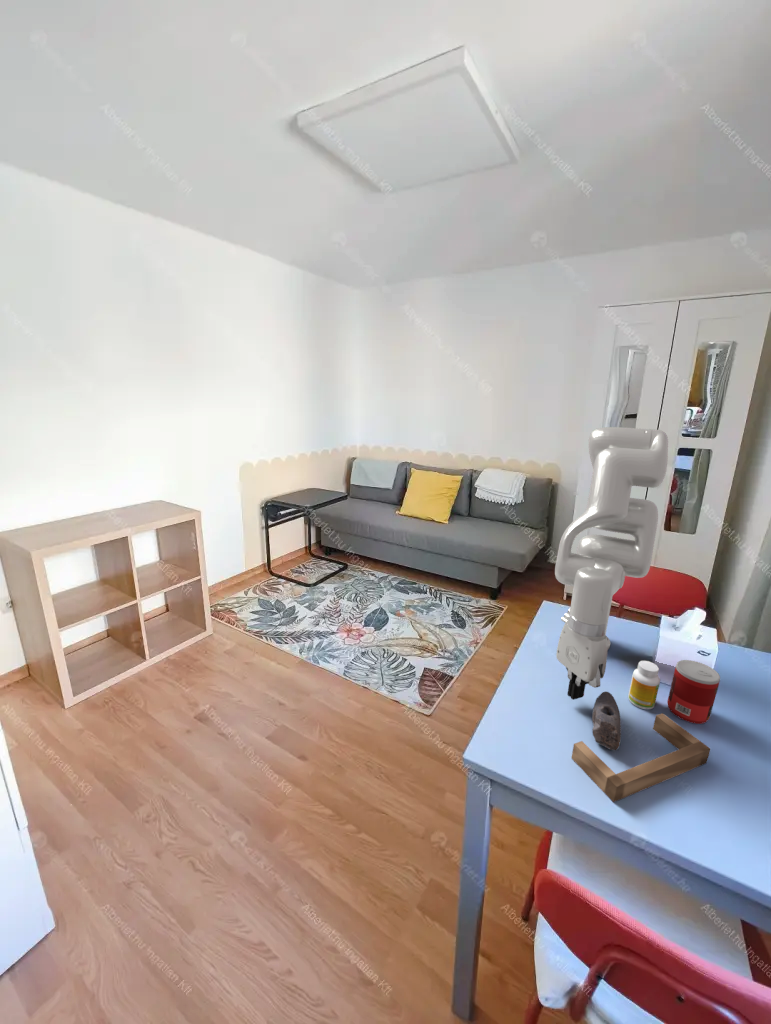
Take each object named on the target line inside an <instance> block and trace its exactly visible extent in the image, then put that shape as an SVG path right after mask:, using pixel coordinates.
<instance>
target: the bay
mask: <svg viewBox="0 0 771 1024" xmlns="http://www.w3.org/2000/svg"><path fill="white" fill-rule="evenodd" d="M652 730H653V731H655V732H656V733H657V734H659V736H661V737H662V738H664V740H666V741H667V742H668V743H670V744H671V745H672V746H674V747H675V749H676V750H674V751H671V752H669V753H666V754H664V755H660V756H659V757H656V758H654V759H652V760H649V761H646V762H643V763H641V764H638V765H635V766H633V767H630V768H628V769H625V770H624V771H623V770H622V771H619V772H617V773H616V772H614V771H613V770H612V769H611V767H609V766H608V765H607V764H606V763H605V762H604V761H603V760H602V759H601V758H600V757H599V756H598V755H597V754H596V753H594V751H593V750H592V749H590V747H589V746H587V744H586V743H584V741H583V740H581V741H577V742H575V743H573V747H572V751H571V752H572V753H571V760H572V761H574V763H575V764H576V765H577V766H578V767H579V768H580V769H581V770H582V771H583V772H584V773H585V774H586V776H587V777H589V779H591V781H592V782H593V783H594V784H595V785H596V786H597V787H598V788H599V789H600V790H601V791H602V792H603V793H604V794H605V795H606V797H608V798H609V799H610V801H612V803H615V802H617V801H621V800H623V799H625V798H628V797H630V796H633V795H635V794H637V793H640V792H642V791H644V790H647V789H648V788H652V787H653V786H655V785H658V784H662V783H663V782H666V781H667V780H670V779H672V778H675V777H677V776H679V775H683V774H684V773H687V772H690V771H691V770H694V769H696V768H698V767H699V768H700V767H701V766H703V765H706V764H707V763H708V760H709V756H710V753H711V748H710V746H708V745H706V744H705V743H704V742H702V741H701V740H699V739H698V738H697V737H696V736H695V735H693V734H692V733H690V732H689V731H687V729H685V728H683V727H682V726H681V725H679V724H678V723H677V722H676V721H674V720H672V718H669V717H668V716H667V715H666V714H664V713H663V712H662V713H659V714H655V718H654V722H653V727H652Z"/></svg>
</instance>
